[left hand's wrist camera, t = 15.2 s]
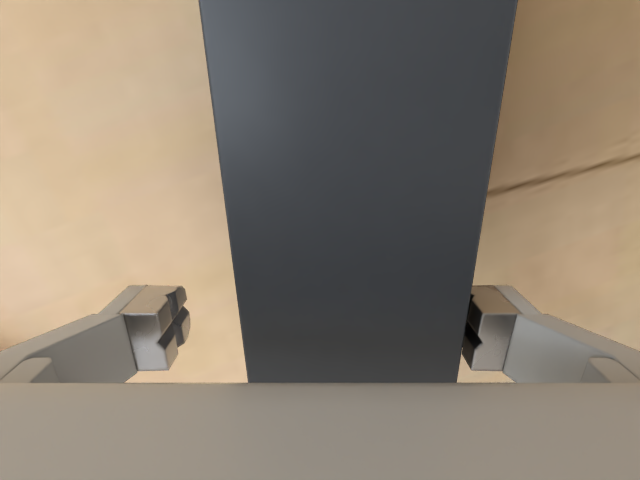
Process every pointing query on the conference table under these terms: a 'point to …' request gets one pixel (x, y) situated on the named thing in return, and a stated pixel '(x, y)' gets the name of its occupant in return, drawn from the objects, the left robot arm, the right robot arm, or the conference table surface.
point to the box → (355, 178)
